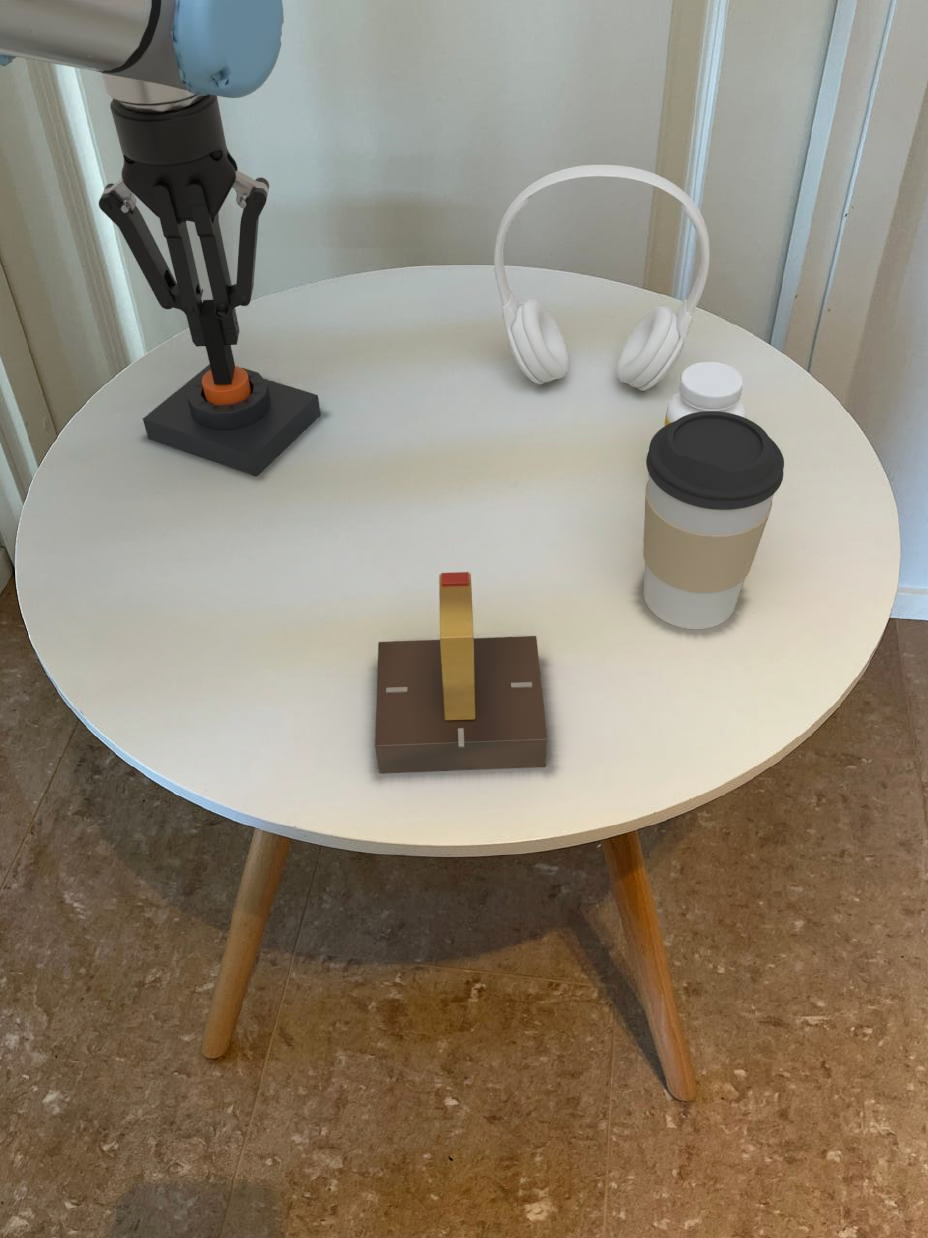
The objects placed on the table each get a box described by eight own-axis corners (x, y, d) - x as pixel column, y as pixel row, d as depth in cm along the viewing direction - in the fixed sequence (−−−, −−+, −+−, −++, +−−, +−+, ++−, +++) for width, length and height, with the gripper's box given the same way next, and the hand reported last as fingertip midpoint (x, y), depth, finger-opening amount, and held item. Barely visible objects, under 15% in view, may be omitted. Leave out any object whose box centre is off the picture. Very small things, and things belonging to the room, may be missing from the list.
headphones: (690, 408, 96) (724, 193, 82) (490, 396, 98) (489, 184, 84) (689, 364, 101) (721, 154, 87) (499, 354, 103) (499, 147, 89)
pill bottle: (690, 457, 91) (708, 346, 83) (746, 492, 88) (771, 379, 80) (640, 488, 89) (654, 376, 81) (696, 525, 85) (717, 411, 77)
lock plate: (378, 778, 69) (374, 749, 67) (381, 666, 76) (378, 636, 74) (546, 771, 69) (548, 742, 67) (534, 660, 76) (536, 630, 74)
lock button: (196, 400, 93) (192, 383, 92) (223, 377, 95) (220, 360, 94) (233, 412, 92) (229, 395, 90) (260, 388, 94) (256, 371, 93)
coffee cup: (658, 541, 84) (682, 381, 73) (767, 580, 81) (810, 419, 70) (609, 612, 79) (627, 451, 68) (723, 657, 76) (762, 496, 65)
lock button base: (148, 438, 95) (137, 401, 92) (216, 381, 101) (207, 345, 98) (256, 476, 91) (248, 439, 88) (321, 414, 97) (315, 377, 94)
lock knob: (475, 720, 68) (473, 634, 62) (444, 721, 68) (439, 635, 62) (473, 656, 72) (470, 569, 66) (443, 657, 72) (438, 570, 66)
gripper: (259, 68, 77) (302, 348, 95) (81, 74, 77) (157, 354, 95) (248, 108, 72) (296, 397, 90) (57, 116, 72) (142, 403, 89)
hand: (224, 374), depth 92 cm, fingers closed
